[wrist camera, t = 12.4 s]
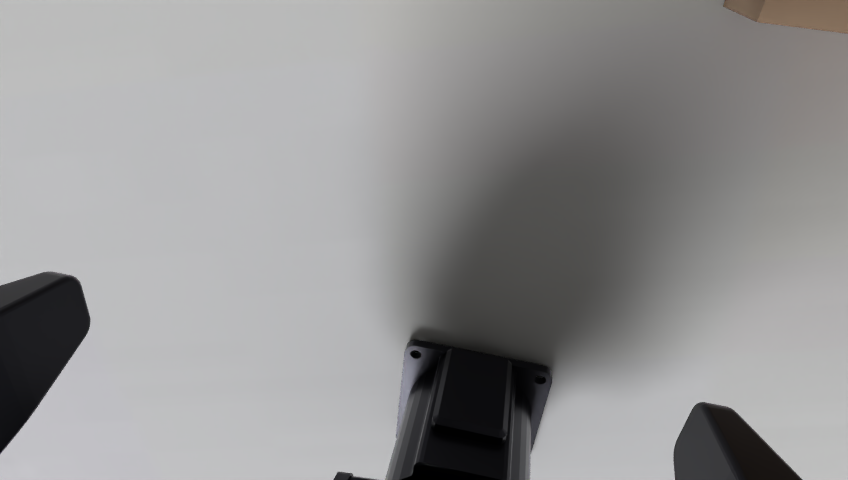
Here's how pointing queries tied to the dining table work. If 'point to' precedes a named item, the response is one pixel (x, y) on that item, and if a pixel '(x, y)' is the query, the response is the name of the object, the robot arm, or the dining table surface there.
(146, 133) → the dining table surface
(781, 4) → the socket block
